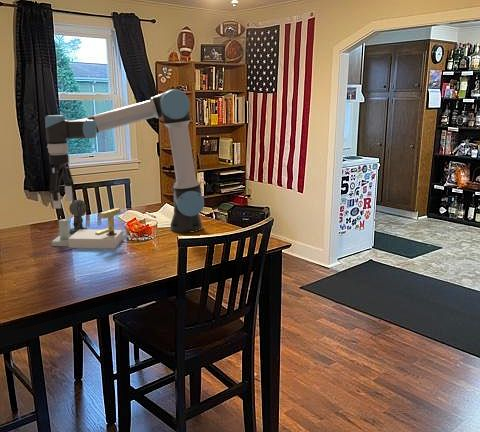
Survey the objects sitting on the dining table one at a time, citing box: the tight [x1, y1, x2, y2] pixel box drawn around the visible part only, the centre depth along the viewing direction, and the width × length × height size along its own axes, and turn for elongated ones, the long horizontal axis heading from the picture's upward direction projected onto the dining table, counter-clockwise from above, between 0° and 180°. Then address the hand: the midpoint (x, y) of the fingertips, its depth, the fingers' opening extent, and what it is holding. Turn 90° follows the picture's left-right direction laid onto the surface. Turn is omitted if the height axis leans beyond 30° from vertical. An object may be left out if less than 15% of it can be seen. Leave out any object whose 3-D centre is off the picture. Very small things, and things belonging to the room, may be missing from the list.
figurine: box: [69, 199, 88, 235], centre depth 216 cm, size 9×10×15 cm
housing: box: [68, 228, 124, 249], centre depth 201 cm, size 19×14×4 cm
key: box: [95, 207, 122, 235], centre depth 198 cm, size 14×2×10 cm, turn 153°
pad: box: [51, 244, 69, 247], centre depth 202 cm, size 8×10×1 cm
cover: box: [51, 218, 72, 246], centre depth 201 cm, size 8×9×10 cm
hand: (63, 204), depth 198 cm, fingers open, 13 cm apart
